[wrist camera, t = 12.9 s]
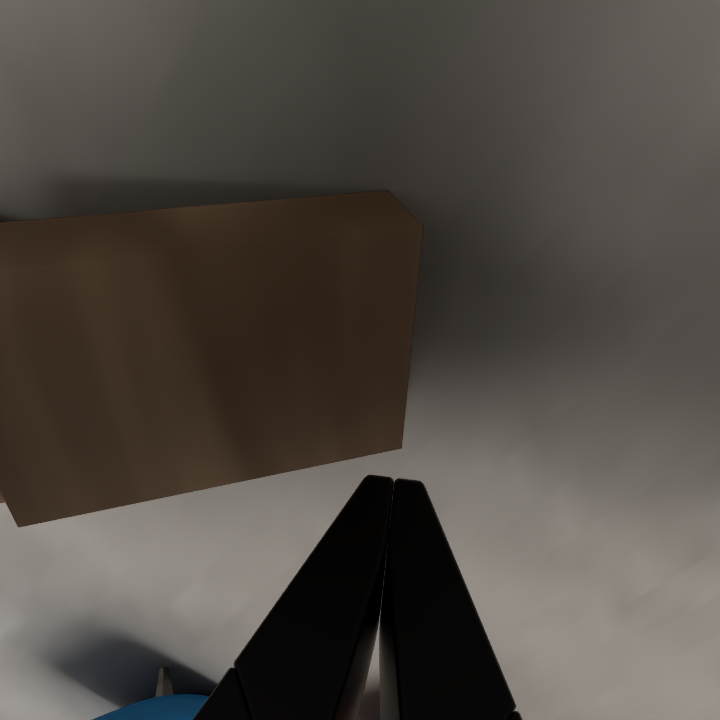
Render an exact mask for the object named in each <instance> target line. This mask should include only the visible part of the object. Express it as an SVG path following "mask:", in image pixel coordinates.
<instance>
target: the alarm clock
mask: <svg viewBox="0 0 720 720" xmlns="http://www.w3.org/2000/svg"><path fill="white" fill-rule="evenodd" d="M208 698H209V696H204V695H195V694H173V689H172V683H171V678H170V672H169V667H163V668H161V669H160V670H159V677H158V683H157V690H156V697H153V698H149V699H146V700H143V701H139V702H136V703H133V704H131V705H128V706H125V707H123V708H120V709H118V710H115V711H113V712H110V713H107V714H105V715H102V716H100V717H97V718H95V719H92V720H192V719H193V718H194V716H195V715H196V714H197V712H198V711H199V710H200V708H201V707H202V706H203V704H204V703H205V702H206V700H207V699H208Z"/></svg>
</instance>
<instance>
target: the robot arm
mask: <svg viewBox="0 0 720 720" xmlns="http://www.w3.org/2000/svg"><path fill="white" fill-rule="evenodd" d="M393 487H394V490H393ZM392 497H393V499H392ZM391 507H392V509H391ZM390 516H391V518H390ZM389 526H390V527H389ZM388 535H389V536H388ZM387 544H388V546H387ZM386 554H387V555H386ZM385 563H386V565H385ZM384 572H385V575H384ZM383 582H384V584H383ZM382 591H383V594H382ZM381 600H382V604H381ZM380 610H381V614H380ZM379 617H380V629H379V667H380V720H522V718H521V715H520V713H519V712H517V711H515V708H516V704H515V702H514V699H513V697H512V694H511V692H510V690H509V687H508V685H507V682H506V680H505V678H504V675H503V673H502V670H501V668H500V666H499V663H498V661H497V658H496V656H495V654H494V651H493V649H492V646H491V644H490V642H489V639H488V637H487V634H486V632H485V630H484V627H483V625H482V622H481V620H480V618H479V615H478V613H477V610H476V608H475V606H474V603H473V601H472V598H471V596H470V594H469V591H468V589H467V586H466V584H465V582H464V579H463V577H462V574H461V572H460V570H459V567H458V565H457V562H456V560H455V557H454V555H453V553H452V550H451V548H450V545H449V543H448V541H447V538H446V536H445V533H444V531H443V529H442V526H441V524H440V521H439V519H438V517H437V514H436V512H435V509H434V507H433V505H432V502H431V500H430V497H429V495H428V493H427V490H426V488H425V486H424V484H423V483H422V482H421V481H417V480H409V479H401V478H399V479H396V480H395V482H394V481H393V479H392V478H391V477H385V476H377V475H368V476H366V477H365V478H364V479H363V480H362V482H361V483H360V485H359V486H358V488H357V489H356V490H355V492H354V493H353V495H352V496H351V497H350V499H349V500H348V502H347V503H346V505H345V506H344V507H343V509H342V510H341V512H340V513H339V514H338V516H337V517H336V519H335V520H334V522H333V523H332V524H331V526H330V527H329V529H328V530H327V531H326V533H325V534H324V536H323V537H322V538H321V540H320V541H319V543H318V544H317V546H316V547H315V548H314V550H313V551H312V553H311V554H310V555H309V557H308V558H307V560H306V561H305V563H304V564H303V565H302V567H301V568H300V570H299V571H298V572H297V574H296V575H295V577H294V578H293V580H292V581H291V582H290V584H289V585H288V587H287V588H286V589H285V591H284V592H283V594H282V595H281V597H280V598H279V599H278V601H277V602H276V604H275V605H274V606H273V608H272V609H271V611H270V612H269V614H268V615H267V616H266V618H265V619H264V621H263V622H262V623H261V625H260V626H259V628H258V629H257V631H256V632H255V633H254V635H253V636H252V638H251V639H250V640H249V642H248V643H247V645H246V646H245V647H244V649H243V650H242V652H241V653H240V655H239V656H238V657H237V659H236V660H235V662H234V668H230V669H229V670H228V671H227V672H226V674H225V675H224V677H223V678H222V680H221V681H220V682H219V684H218V685H217V687H216V688H215V689H214V691H213V692H212V694H211V695H210V696H209V698H208V699H207V700H206V702H205V703H204V704H203V706H202V707H201V708H200V710H199V711H198V712H197V714H196V715H195V716H194V718H193V719H192V720H357V719H358V714H359V710H360V706H361V701H362V697H363V693H364V688H365V684H366V680H367V675H368V671H369V667H370V662H371V658H372V653H373V649H374V645H375V640H376V635H377V630H378V624H379Z"/></svg>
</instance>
